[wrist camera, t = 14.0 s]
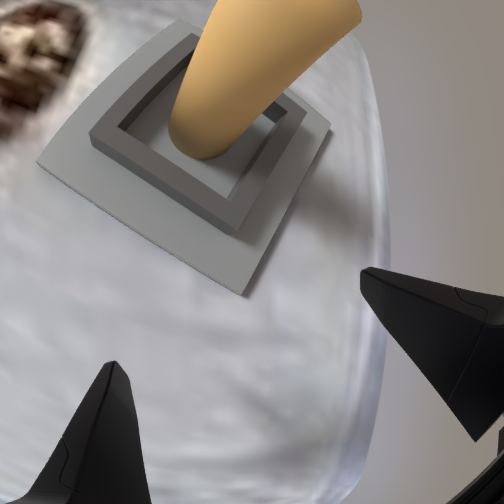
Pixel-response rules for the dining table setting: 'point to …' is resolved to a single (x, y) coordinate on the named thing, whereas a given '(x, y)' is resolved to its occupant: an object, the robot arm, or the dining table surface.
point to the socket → (184, 163)
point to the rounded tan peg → (250, 65)
